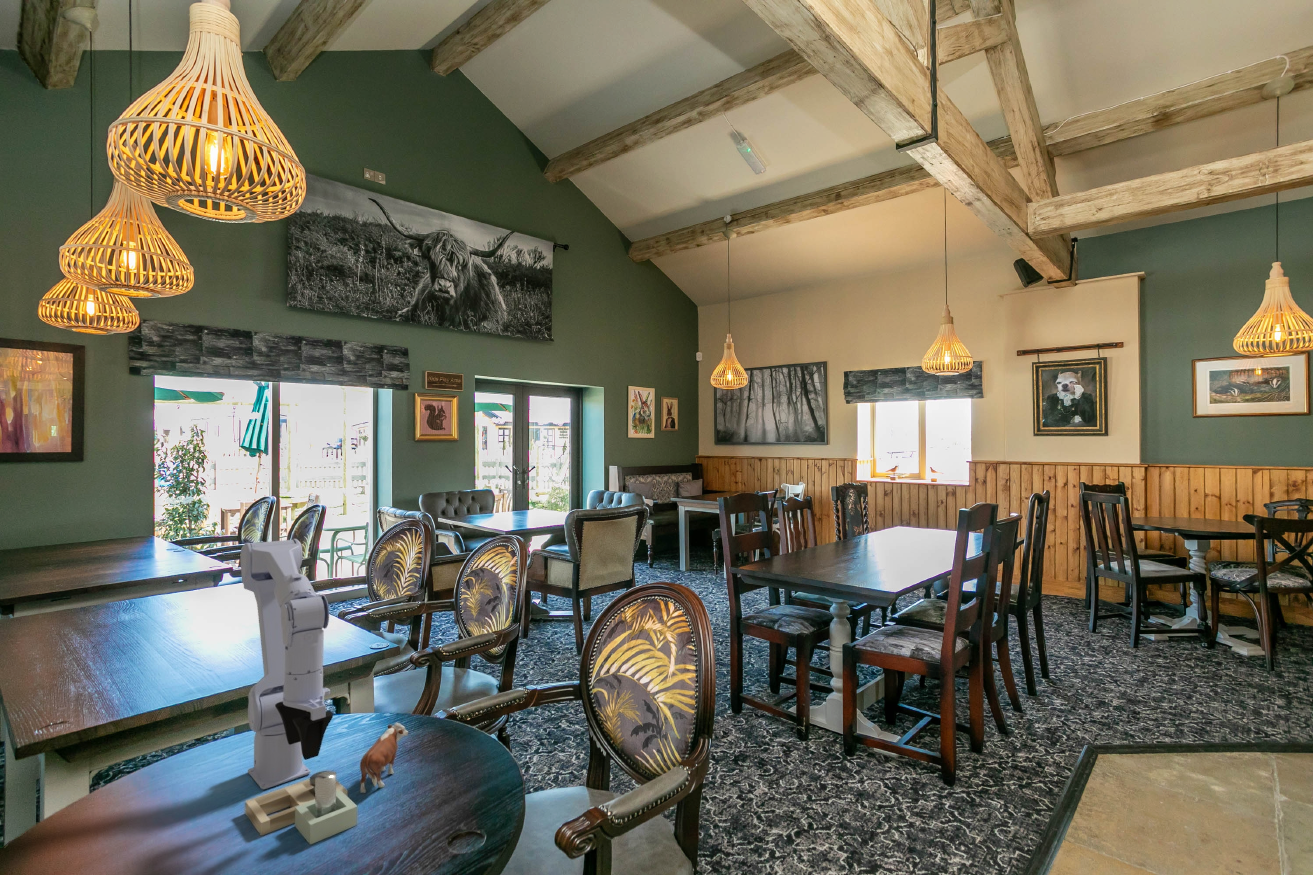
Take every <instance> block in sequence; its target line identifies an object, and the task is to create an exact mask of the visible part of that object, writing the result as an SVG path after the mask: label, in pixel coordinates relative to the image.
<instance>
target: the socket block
mask: <svg viewBox="0 0 1313 875" xmlns="http://www.w3.org/2000/svg"><path fill="white" fill-rule="evenodd" d="M313 789H314V786H311V785H310V778H307V779H304V780H301V781H299V782H296V783H293V784H290V785H287V786H284V787H282V788H281V787H280V788H278V789H276V790H273V791H270V792H268V793H265V794H264V793H263V794H261V795H258V796H256V797H253V798H250V799H247V800H245V802H244V805H245V806H244V813H245V815H246V816H247V818H248V819H249V821H250V822H251V824H252V825H253V827H254V828H255V829H256V831H257V832H258V834H259V835H260V836H264V835H267V834H269V833H272V832H275V831H277V830H279V829H283V828H284V827H287V826H290V825H293V824H295V807H297V806H300V805H303V804H305V803H308V802H310V801H313V800H315V797H314V796H313ZM340 790H341V791H342V792H343V793H344V794H345V795H346V796H347V797H348V789H347V788H346V787H345V786H343V785H342V784H341V783H340V782H339V781H338V780H337V779H336V792H337V791H340ZM289 807H290V808H289ZM286 808H287V809H286ZM284 809H285V810H284ZM278 811H279V812H278ZM275 812H276V813H275ZM270 814H271V815H270Z"/></svg>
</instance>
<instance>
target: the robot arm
mask: <svg viewBox="0 0 1313 875" xmlns="http://www.w3.org/2000/svg"><path fill="white" fill-rule="evenodd" d="M239 559H240V560H239V562H240V572H241V573H240V574H241V581H242V582H241V583H242V584H243V589H244V590H246V591H249V592H251V593H252V592H253V595H254V599H255V601H256V605H257V606H256V607H257V617H258V625H259V637H260V645H261V646H260V648H261V654H262V655H261V656H262V658H261V659H262V666H263V676H262V678H261V679H260V680H258V681H257V683H255V684H254V685H253V686H252V687H251V688H250V690H249V693H248V706H247V717H248V725H249V728H250V730H251V731H253V732H254V733H255V734H254V736H253V737H254V738H253V767H250V768H248V769H247V773H248V774H249V775H250V776H251V778H252V780H253V781H255V783H256V784H257V785H258V787H260V789H261V790H266V789H270V788H272V787H275V786H279V785H281V784H284V783H286V782H287V783H288V782H290V781H293V780H296V779H299V778H301V777H304V776H308V775H309V774H311V770H310V769H309V767H307V766H306V765H305V763H303V759H304V760H305V761H308V760H309V759H312V758H317V757H319V755H320V751H321V747H322V742H323V739H324V736H325V733H326V730H327V729H328V727H329V724H330V722H331V721H332V719H333V716H334V713H333V712H332V711H330V710H327V709H326V707H327V706H326V704H325V703H324V702H325V696H328V695H331V689H330V688H328V687H324V634H325V633H324V632H325V631H324V630H325V629H327V627H328V625H329V622H330V607H329V602H328V599H327V597H326V595H325V594H321V593H316V592H315V590H314V588H313V586H312V584H311V582H310V579H309V578H308V577H307V576H306V575H305V574H302V573H299V572H300V568H301V565H302V563H303V547H302V543H301V542H300V541H299V540H298V539H297V538H293V539H284V540H274V541H263V542H251V543H250V542H245V543H244V544H243V545H242V547H241V549H240V558H239ZM323 629H324V630H323Z"/></svg>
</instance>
